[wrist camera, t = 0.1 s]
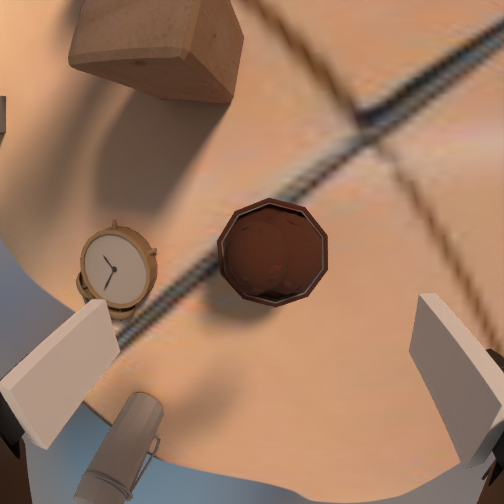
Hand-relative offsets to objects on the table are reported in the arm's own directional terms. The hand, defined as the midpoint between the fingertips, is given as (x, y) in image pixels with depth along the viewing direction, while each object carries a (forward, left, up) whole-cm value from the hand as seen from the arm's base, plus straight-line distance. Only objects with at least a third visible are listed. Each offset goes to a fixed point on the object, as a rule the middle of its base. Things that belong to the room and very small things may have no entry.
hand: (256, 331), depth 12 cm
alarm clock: (+8, -23, -28) cm, 38 cm away
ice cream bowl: (+3, 0, -28) cm, 28 cm away
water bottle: (+35, -24, -28) cm, 51 cm away
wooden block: (-19, -8, -28) cm, 35 cm away
